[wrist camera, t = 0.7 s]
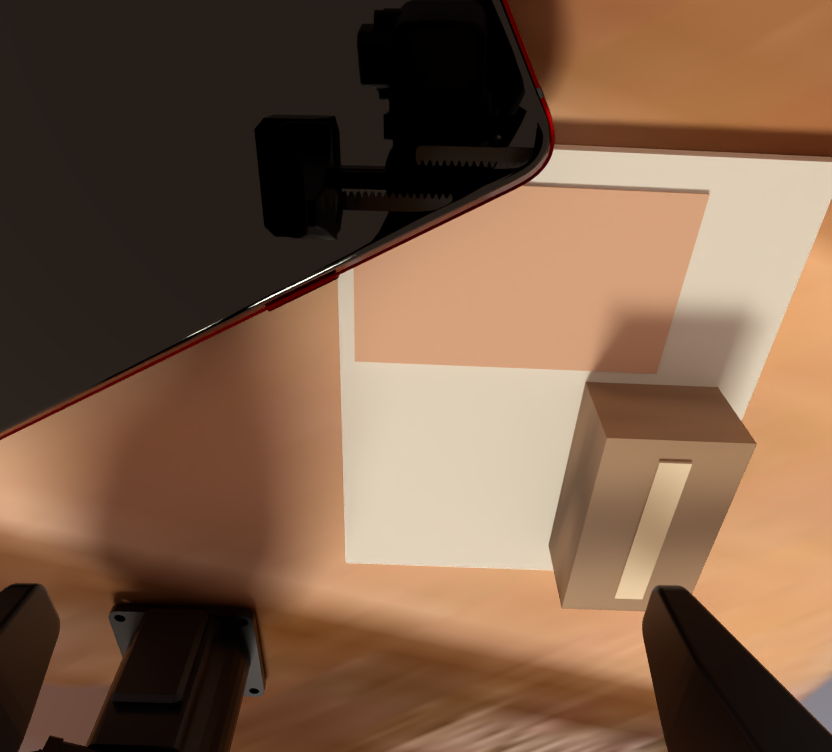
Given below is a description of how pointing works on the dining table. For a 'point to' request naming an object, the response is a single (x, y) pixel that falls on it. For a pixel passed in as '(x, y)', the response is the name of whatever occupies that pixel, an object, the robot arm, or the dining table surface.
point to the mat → (553, 335)
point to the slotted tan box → (644, 491)
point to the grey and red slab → (230, 164)
